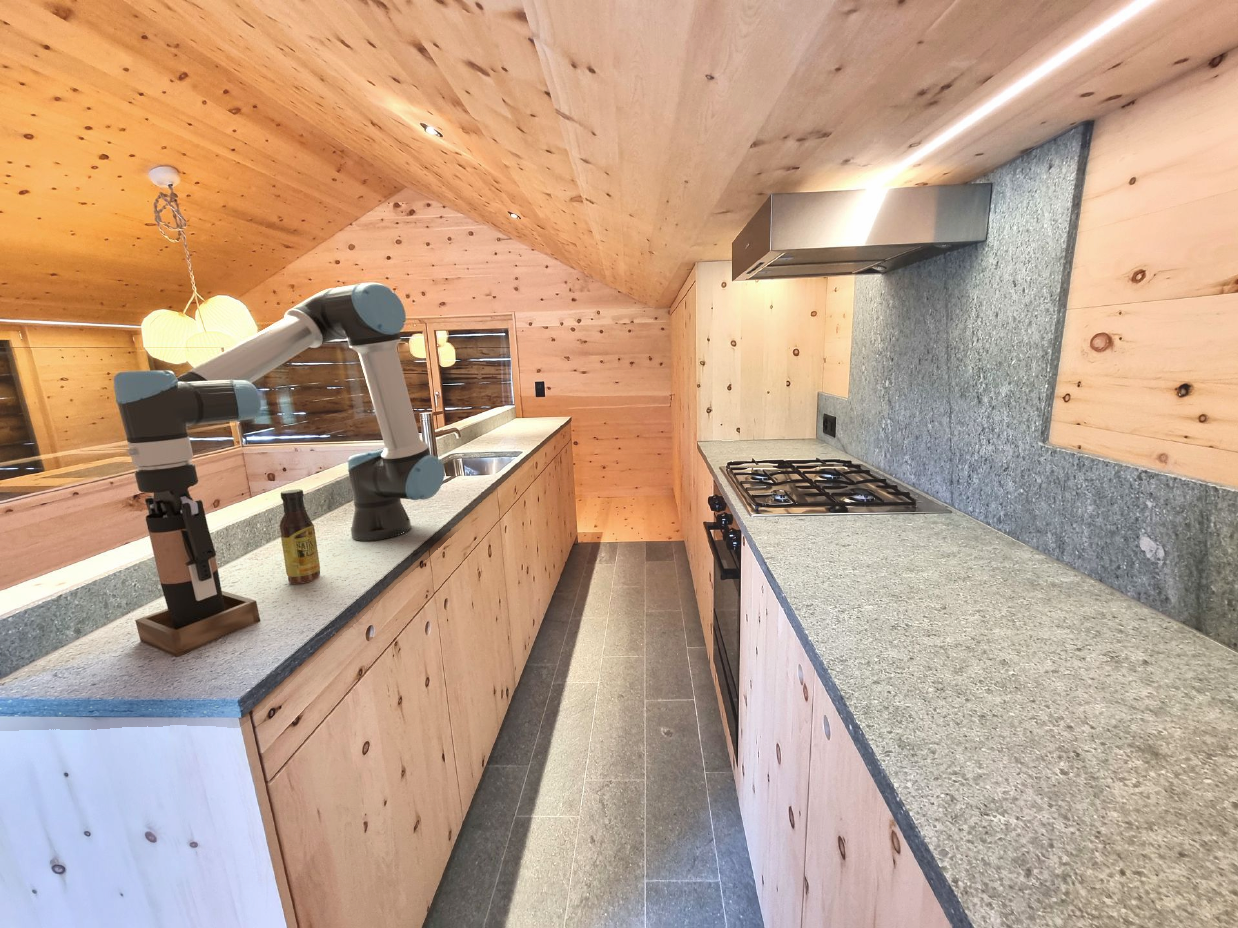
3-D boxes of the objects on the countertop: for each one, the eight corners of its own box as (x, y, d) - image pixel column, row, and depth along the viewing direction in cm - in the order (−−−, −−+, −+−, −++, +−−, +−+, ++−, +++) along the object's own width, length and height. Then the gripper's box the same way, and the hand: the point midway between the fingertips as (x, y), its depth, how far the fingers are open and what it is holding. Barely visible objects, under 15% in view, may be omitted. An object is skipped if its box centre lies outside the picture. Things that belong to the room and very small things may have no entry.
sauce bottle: (305, 586, 106) (289, 495, 102) (281, 584, 107) (264, 495, 103) (329, 573, 112) (314, 487, 108) (305, 572, 113) (290, 487, 109)
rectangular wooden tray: (223, 609, 97) (219, 589, 96) (260, 620, 91) (256, 600, 90) (140, 641, 86) (135, 620, 85) (176, 657, 80) (171, 634, 79)
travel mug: (172, 620, 88) (146, 512, 85) (226, 605, 93) (204, 502, 89) (170, 636, 83) (142, 521, 79) (228, 620, 87) (204, 510, 84)
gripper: (107, 466, 84) (139, 592, 88) (166, 473, 75) (199, 613, 79) (163, 458, 90) (190, 576, 95) (223, 463, 81) (250, 593, 86)
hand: (194, 593), depth 87 cm, fingers closed on travel mug, 8 cm apart
